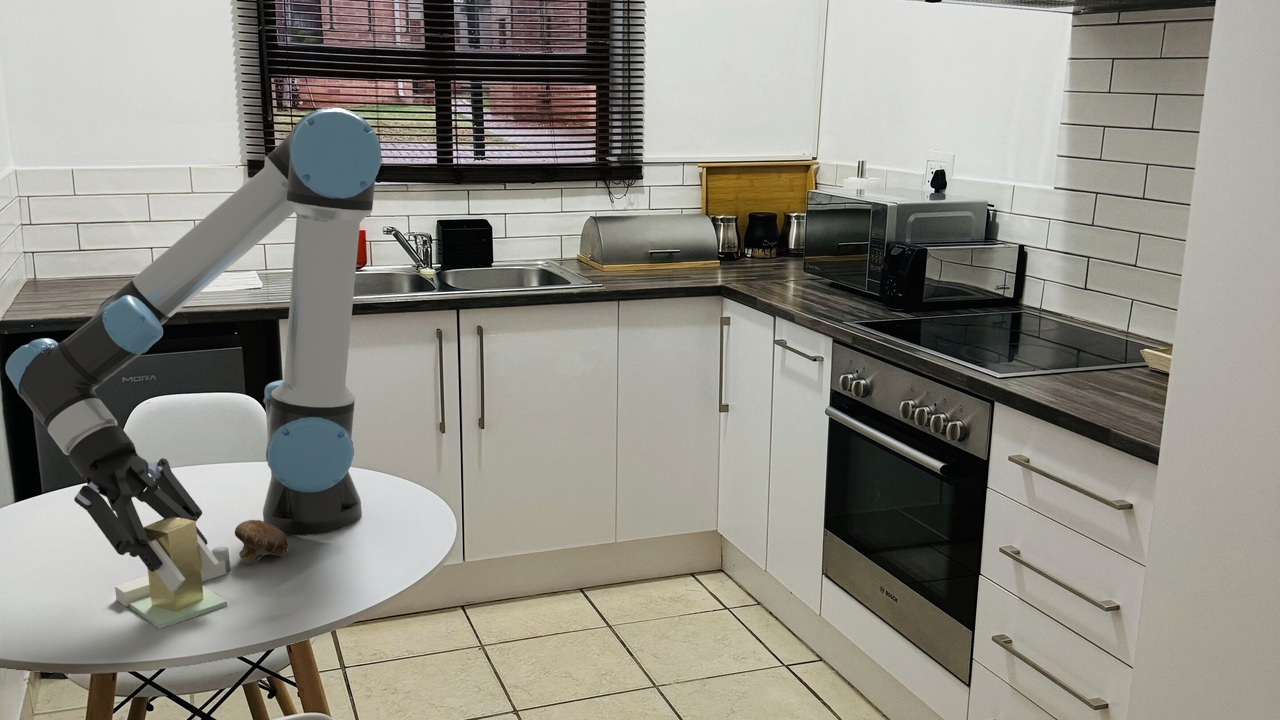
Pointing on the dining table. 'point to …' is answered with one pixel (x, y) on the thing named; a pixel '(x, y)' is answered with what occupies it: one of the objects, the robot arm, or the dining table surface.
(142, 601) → the plate
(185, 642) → the dining table surface
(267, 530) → the mushroom
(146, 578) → the door edge
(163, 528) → the block
